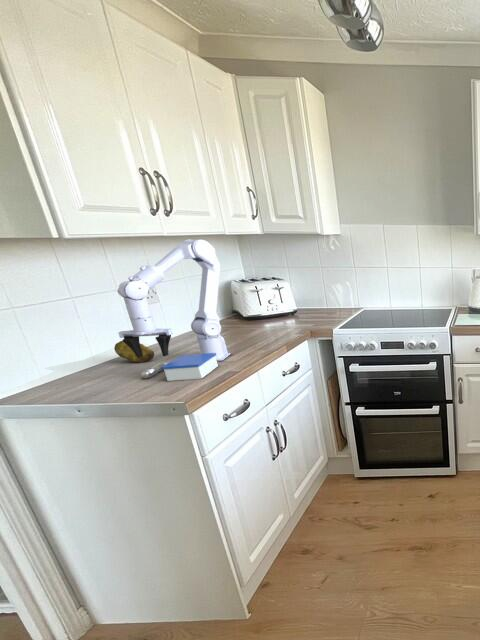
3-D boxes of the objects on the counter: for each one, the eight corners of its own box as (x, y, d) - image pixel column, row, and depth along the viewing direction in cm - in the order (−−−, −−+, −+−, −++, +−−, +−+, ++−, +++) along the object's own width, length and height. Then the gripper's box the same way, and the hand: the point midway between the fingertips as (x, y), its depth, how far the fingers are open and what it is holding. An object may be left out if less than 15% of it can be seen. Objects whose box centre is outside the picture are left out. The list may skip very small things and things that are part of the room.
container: (186, 368, 150) (182, 355, 148) (219, 365, 153) (215, 352, 151) (165, 381, 137) (161, 367, 135) (202, 378, 139) (198, 364, 138)
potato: (133, 366, 153) (125, 345, 150) (115, 361, 158) (108, 341, 155) (158, 360, 160) (152, 340, 157) (141, 356, 165) (134, 336, 162)
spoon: (161, 366, 153) (159, 359, 152) (176, 365, 154) (174, 358, 153) (137, 380, 138) (134, 372, 137) (153, 378, 139) (151, 371, 139)
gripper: (107, 321, 134) (121, 361, 139) (159, 318, 138) (171, 357, 142) (120, 317, 141) (133, 355, 145) (170, 314, 144) (181, 352, 149)
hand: (153, 356), depth 144 cm, fingers open, 7 cm apart
